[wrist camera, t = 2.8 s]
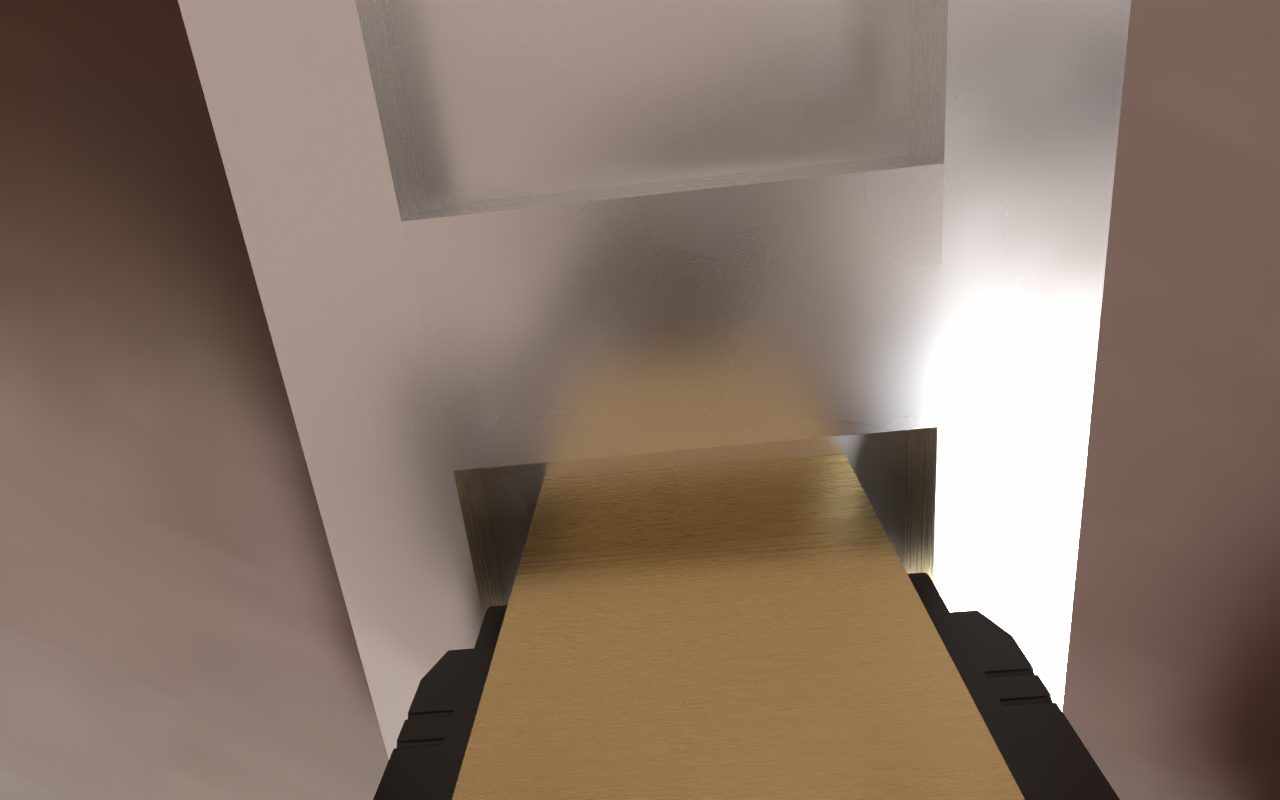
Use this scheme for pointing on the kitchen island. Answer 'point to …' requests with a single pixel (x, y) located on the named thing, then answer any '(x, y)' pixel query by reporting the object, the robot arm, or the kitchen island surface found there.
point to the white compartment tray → (674, 273)
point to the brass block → (722, 650)
